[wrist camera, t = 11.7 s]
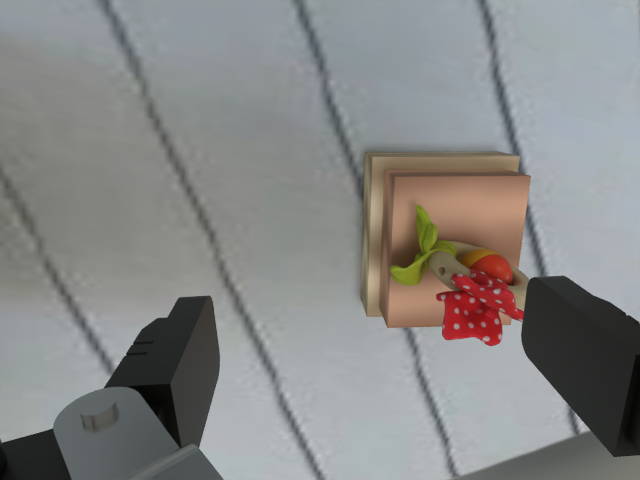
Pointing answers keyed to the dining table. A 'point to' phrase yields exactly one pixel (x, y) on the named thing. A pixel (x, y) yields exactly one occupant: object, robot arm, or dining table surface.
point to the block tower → (434, 222)
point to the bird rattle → (467, 284)
